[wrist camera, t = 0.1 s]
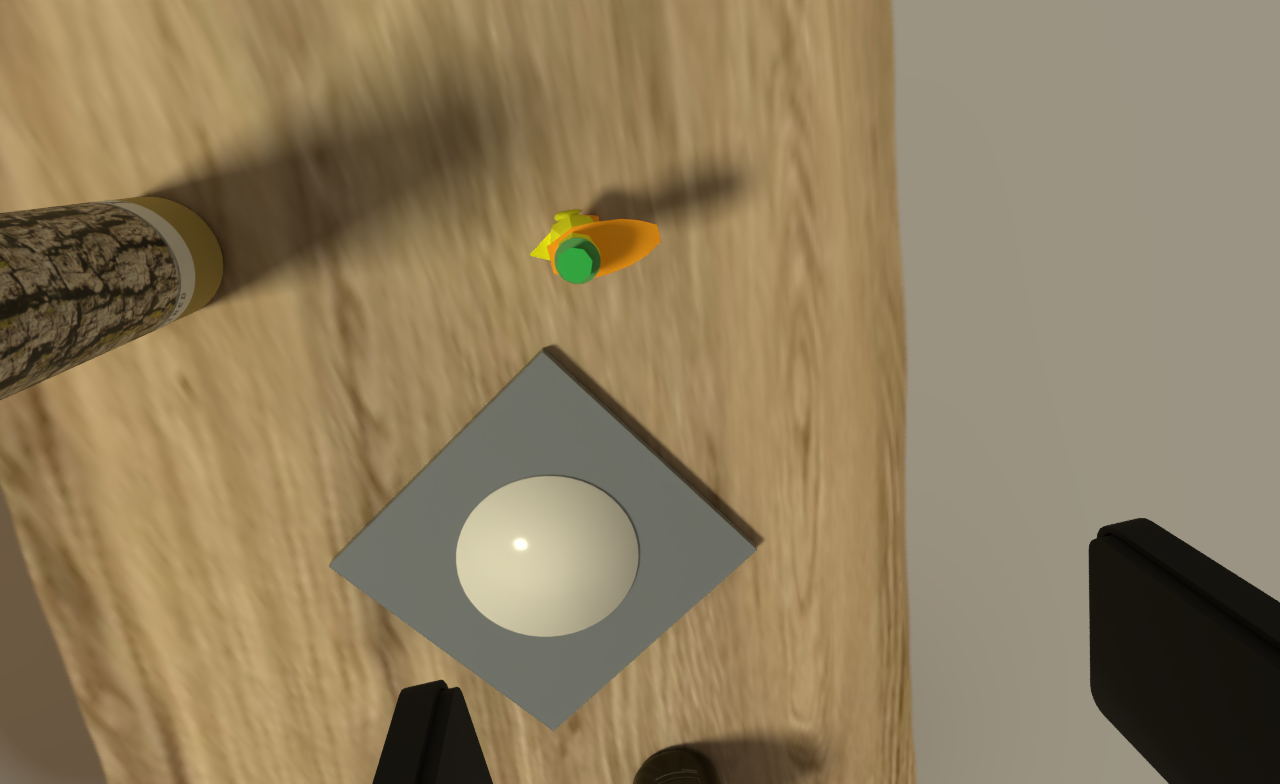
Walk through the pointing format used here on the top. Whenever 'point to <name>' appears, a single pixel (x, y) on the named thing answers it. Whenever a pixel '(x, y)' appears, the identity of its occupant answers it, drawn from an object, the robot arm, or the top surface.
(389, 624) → the top surface
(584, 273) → the toy figure
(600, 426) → the slate tile
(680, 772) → the supplement bottle
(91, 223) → the paper tube
